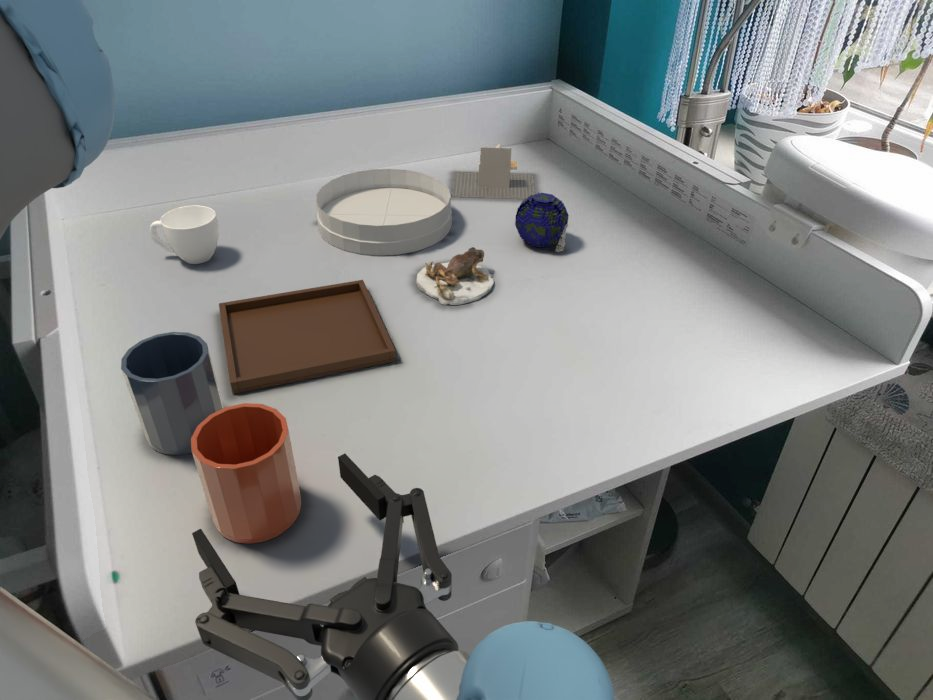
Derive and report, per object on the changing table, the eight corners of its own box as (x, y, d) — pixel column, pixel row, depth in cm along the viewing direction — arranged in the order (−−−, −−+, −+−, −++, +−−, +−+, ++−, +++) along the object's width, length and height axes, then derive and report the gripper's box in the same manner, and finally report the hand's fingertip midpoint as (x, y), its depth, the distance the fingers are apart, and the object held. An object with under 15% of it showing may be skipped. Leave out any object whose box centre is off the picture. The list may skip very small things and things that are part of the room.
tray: (232, 394, 81) (230, 383, 80) (221, 313, 94) (218, 303, 93) (396, 361, 86) (395, 350, 85) (363, 289, 100) (362, 279, 98)
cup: (216, 270, 103) (207, 229, 99) (148, 269, 103) (136, 228, 99) (230, 245, 109) (222, 205, 105) (165, 244, 109) (155, 204, 105)
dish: (450, 257, 107) (450, 227, 104) (306, 254, 107) (302, 225, 104) (452, 195, 125) (453, 169, 122) (329, 193, 125) (326, 167, 122)
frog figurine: (457, 253, 109) (457, 230, 106) (511, 283, 102) (513, 260, 99) (398, 277, 102) (397, 254, 100) (453, 312, 95) (453, 288, 93)
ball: (571, 236, 114) (576, 192, 109) (558, 257, 108) (563, 212, 103) (524, 227, 116) (527, 184, 111) (509, 247, 110) (512, 203, 106)
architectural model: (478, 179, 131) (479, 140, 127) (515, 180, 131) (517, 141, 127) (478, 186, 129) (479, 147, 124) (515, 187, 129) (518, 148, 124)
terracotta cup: (217, 554, 63) (193, 478, 57) (211, 488, 69) (189, 414, 63) (308, 530, 66) (294, 454, 60) (294, 469, 72) (280, 395, 66)
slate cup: (146, 462, 72) (119, 388, 66) (146, 412, 78) (122, 340, 72) (229, 444, 74) (210, 371, 68) (222, 396, 80) (205, 326, 74)
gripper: (262, 843, 44) (141, 606, 56) (545, 615, 57) (395, 465, 69) (241, 793, 39) (115, 548, 52) (554, 558, 52) (391, 409, 65)
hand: (275, 500), depth 61 cm, fingers open, 13 cm apart
